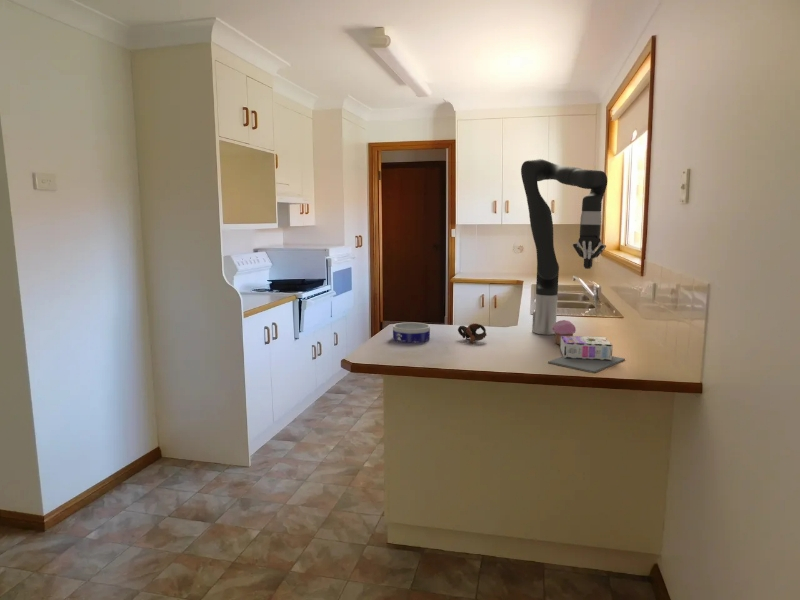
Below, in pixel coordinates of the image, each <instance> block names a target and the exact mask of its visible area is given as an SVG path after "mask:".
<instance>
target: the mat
mask: <svg viewBox="0 0 800 600" xmlns="http://www.w3.org/2000/svg"><path fill="white" fill-rule="evenodd" d="M624 361H626V358H624V357H618V356H615V355H614V356H613V355H612V360H597V359H577V358H564V356H563V355H562V356H560V357H557V358H554V359H551V360H548V361H547V363H548V364H550V365H556V366H561V367H566V368H569V369H575V370H578V369H579V371H583V370H584V372H588V373H592V374H595V372H596V373H598V372H600V371H602V370H604V369H605V370H606V369H608V368H610V367H611V366H615V365H617V364H619V363H621V362H624Z"/></svg>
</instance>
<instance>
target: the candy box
mask: <svg viewBox="0 0 800 600" xmlns="http://www.w3.org/2000/svg"><path fill="white" fill-rule="evenodd" d="M560 352H561V354H562V356H564V358H577V359H597V360H612V356H613V344H612V343H611V342H610V341H609V339H607V337H606V336H576V335H575V336H574V335H573V336H561V345H560Z"/></svg>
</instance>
